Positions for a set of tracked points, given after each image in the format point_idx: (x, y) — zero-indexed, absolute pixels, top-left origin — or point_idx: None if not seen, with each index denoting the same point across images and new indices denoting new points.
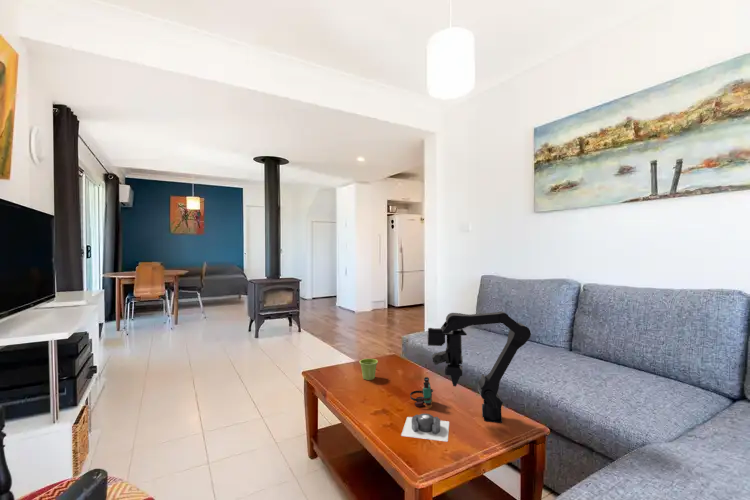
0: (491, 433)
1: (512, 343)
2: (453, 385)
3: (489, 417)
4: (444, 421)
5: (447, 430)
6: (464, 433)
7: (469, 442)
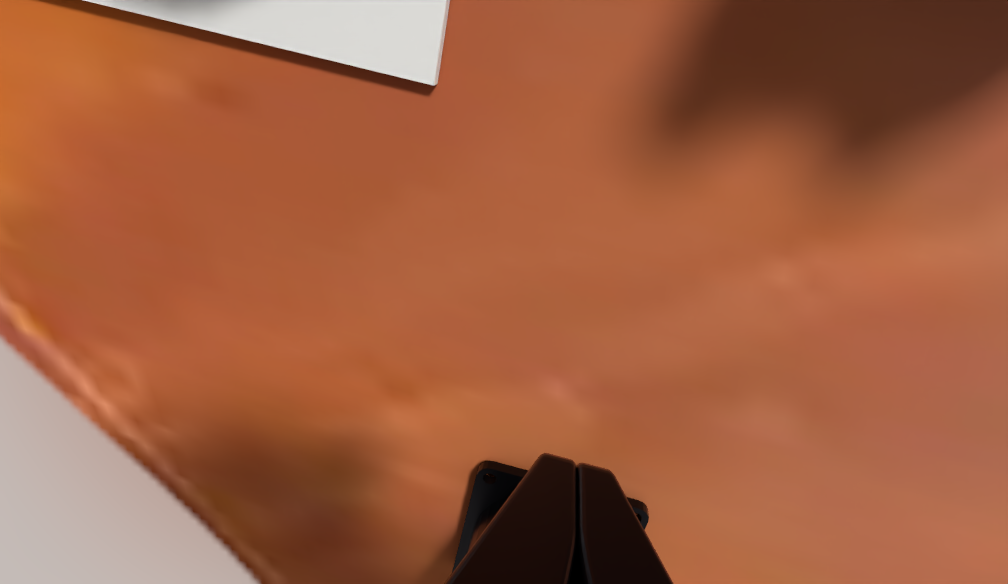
0: (276, 438)
1: None
2: (526, 473)
3: (484, 525)
4: (427, 13)
5: (204, 15)
6: (220, 208)
7: (71, 213)
